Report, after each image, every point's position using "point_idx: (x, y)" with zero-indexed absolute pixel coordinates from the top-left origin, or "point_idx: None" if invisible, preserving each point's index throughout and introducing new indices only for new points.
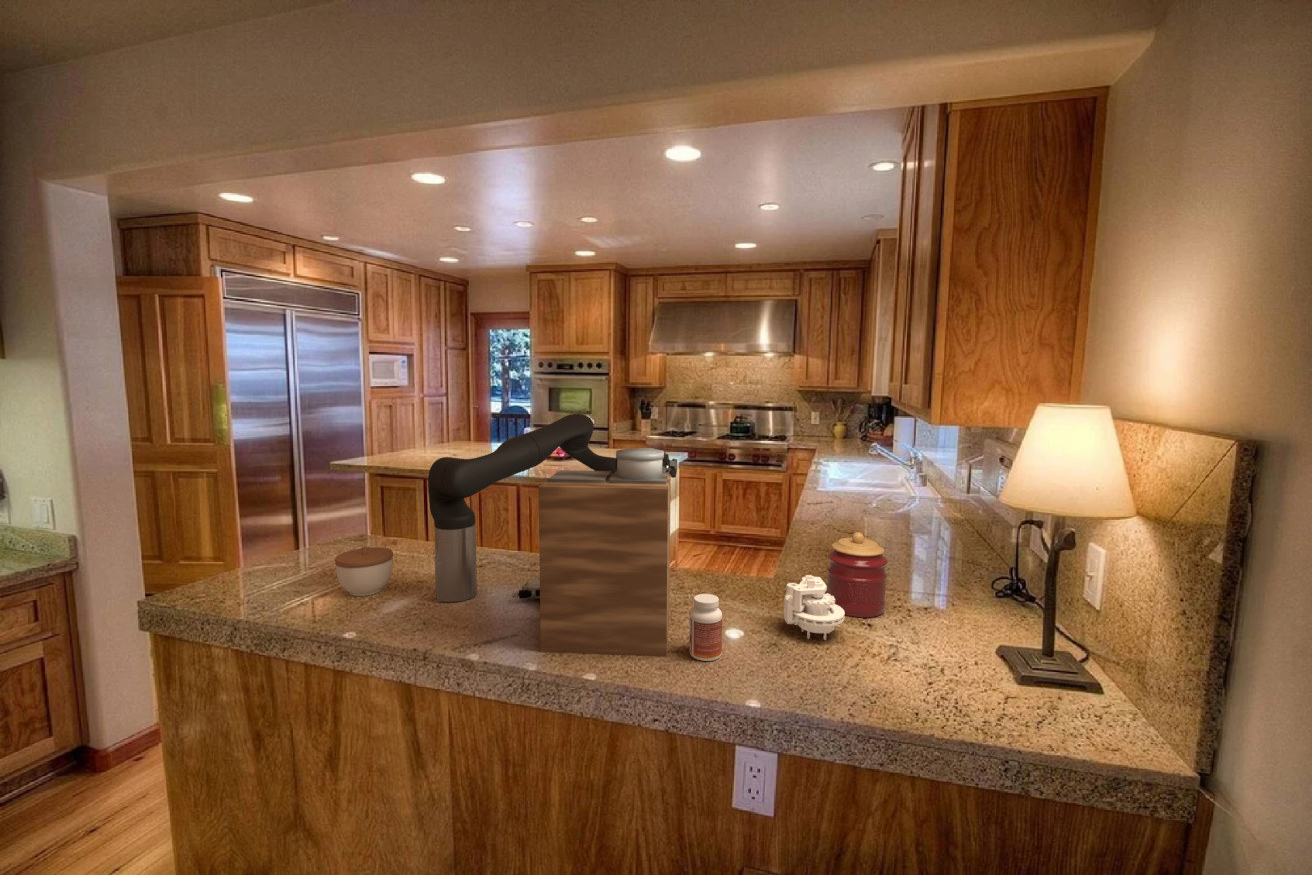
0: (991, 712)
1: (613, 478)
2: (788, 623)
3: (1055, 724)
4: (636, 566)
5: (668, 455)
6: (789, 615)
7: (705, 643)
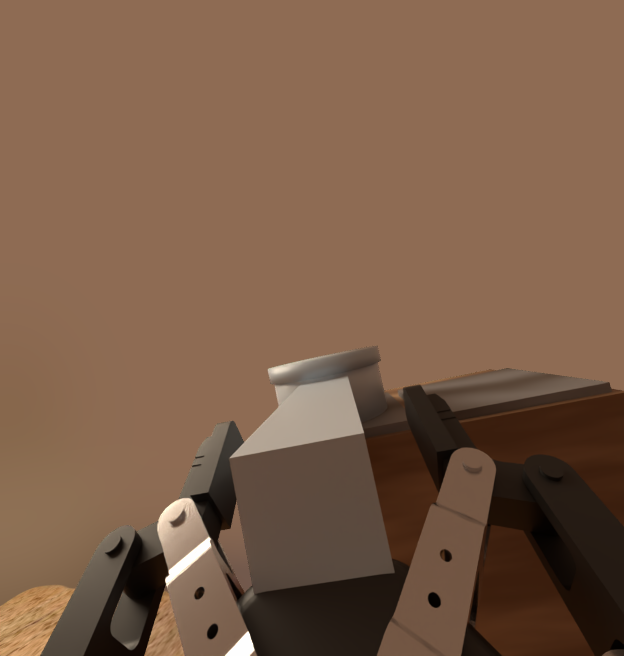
0: (53, 629)
1: (385, 396)
2: None
3: (27, 621)
4: None
5: (201, 448)
6: None
7: None
